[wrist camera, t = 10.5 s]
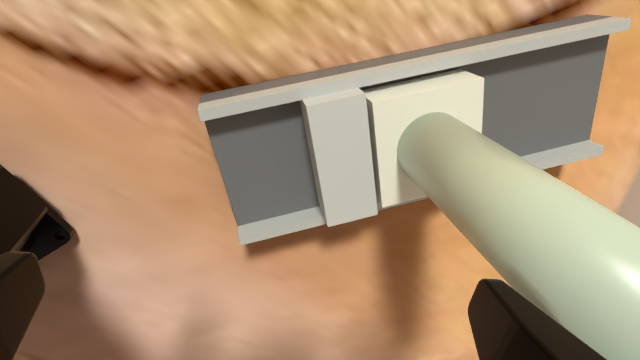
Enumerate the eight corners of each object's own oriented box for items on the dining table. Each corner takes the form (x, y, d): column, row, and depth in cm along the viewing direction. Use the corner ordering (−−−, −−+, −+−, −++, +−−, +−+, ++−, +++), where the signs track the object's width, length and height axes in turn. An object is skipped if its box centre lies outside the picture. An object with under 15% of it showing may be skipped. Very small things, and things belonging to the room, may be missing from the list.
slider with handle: (369, 188, 20) (582, 503, 8) (358, 90, 18) (643, 329, 5) (458, 166, 21) (787, 430, 8) (460, 68, 18) (928, 242, 6)
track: (239, 218, 21) (241, 258, 18) (201, 94, 18) (195, 117, 15) (567, 138, 23) (618, 162, 20) (587, 14, 20) (651, 20, 17)
